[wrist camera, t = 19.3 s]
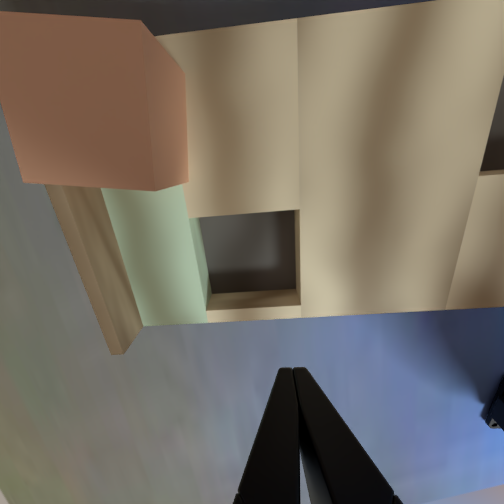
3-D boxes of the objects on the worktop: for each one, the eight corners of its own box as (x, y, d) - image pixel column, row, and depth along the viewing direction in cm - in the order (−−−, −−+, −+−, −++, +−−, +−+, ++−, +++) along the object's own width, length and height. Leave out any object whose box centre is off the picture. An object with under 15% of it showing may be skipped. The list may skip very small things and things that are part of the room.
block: (185, 73, 11) (140, 20, 7) (188, 182, 13) (155, 191, 9) (81, 66, 11) (-26, 9, 7) (99, 176, 13) (23, 182, 9)
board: (656, -1, 11) (926, -112, 7) (540, 284, 17) (645, 329, 13) (78, 69, 13) (-21, 19, 9) (147, 307, 19) (111, 354, 14)
